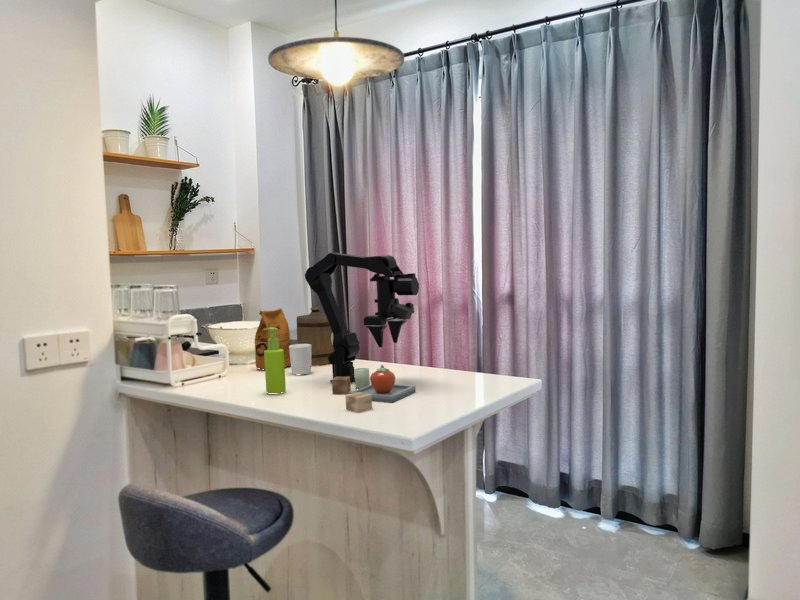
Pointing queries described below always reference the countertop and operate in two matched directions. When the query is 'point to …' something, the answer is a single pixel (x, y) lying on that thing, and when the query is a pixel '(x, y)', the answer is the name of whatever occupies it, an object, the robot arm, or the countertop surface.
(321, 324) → the wooden container
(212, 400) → the countertop surface
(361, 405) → the beech block
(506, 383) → the countertop surface
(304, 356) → the white cup
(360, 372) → the sage green capsule
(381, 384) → the tomato
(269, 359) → the soap dispenser
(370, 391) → the dish
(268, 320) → the coffee package
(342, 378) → the walnut block
